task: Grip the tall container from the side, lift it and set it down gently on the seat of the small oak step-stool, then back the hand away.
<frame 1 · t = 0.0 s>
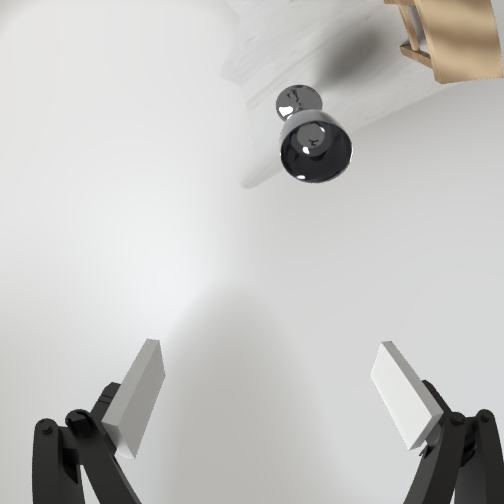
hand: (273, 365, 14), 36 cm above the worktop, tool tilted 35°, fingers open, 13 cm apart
wine glass: (299, 105, 36), on the worktop
stool: (420, 22, 21), on the worktop
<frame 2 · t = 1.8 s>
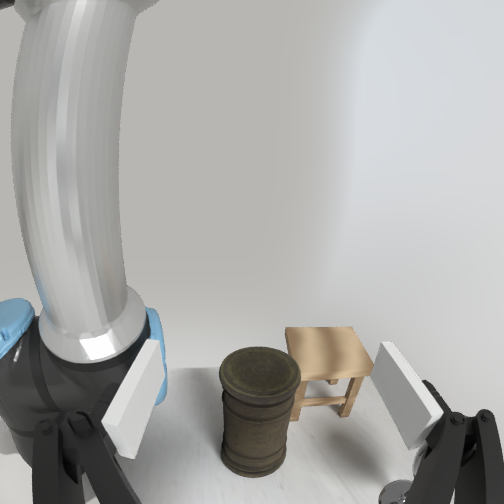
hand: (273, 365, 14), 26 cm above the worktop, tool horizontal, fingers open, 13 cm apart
container: (252, 455, 31), on the worktop
wine glass: (401, 499, 19), on the worktop
stool: (314, 399, 42), on the worktop
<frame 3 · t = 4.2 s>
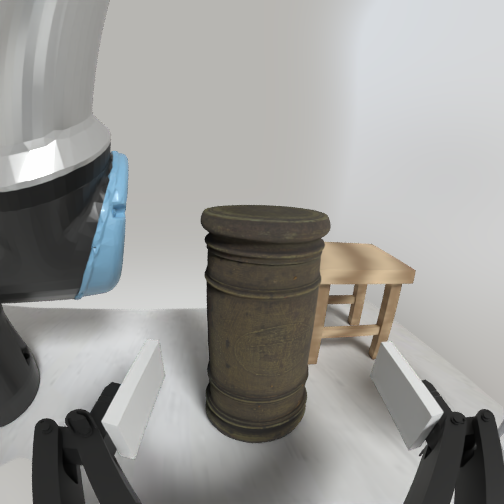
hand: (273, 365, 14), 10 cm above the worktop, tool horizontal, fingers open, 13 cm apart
container: (254, 409, 22), on the worktop
stool: (334, 339, 34), on the worktop
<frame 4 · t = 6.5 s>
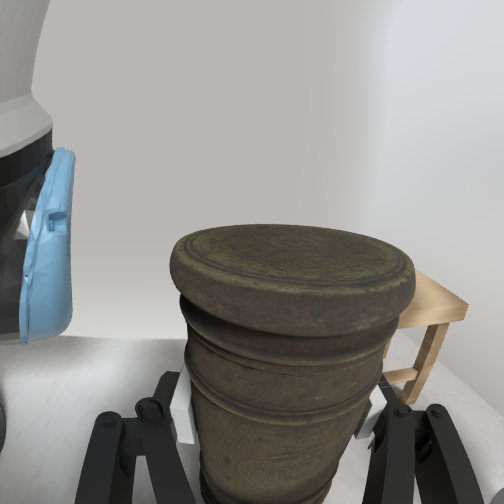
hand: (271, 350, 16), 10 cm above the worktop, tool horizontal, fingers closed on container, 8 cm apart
container: (263, 486, 14), on the worktop, touching gripper
stool: (358, 381, 26), on the worktop
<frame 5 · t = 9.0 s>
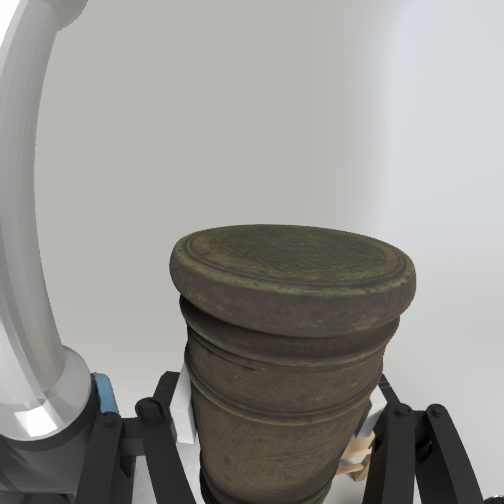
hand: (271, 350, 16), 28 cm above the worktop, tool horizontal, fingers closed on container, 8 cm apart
container: (263, 487, 14), point 18 cm above the worktop, touching gripper
stool: (325, 460, 30), on the worktop
when the fingers open (23 cm above the worktop, at t = 11.6 s): container drops 1 cm, resting on stool.
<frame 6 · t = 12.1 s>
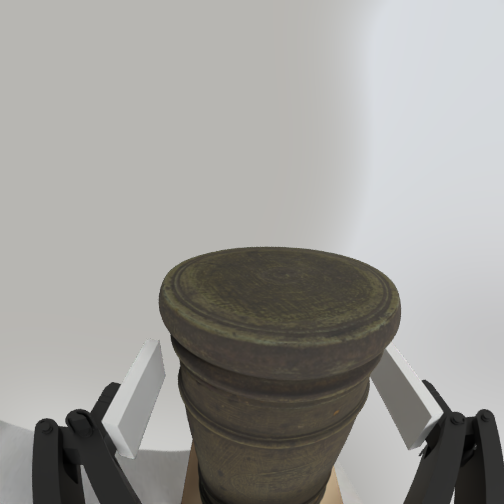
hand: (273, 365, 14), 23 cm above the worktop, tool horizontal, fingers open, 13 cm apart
container: (260, 492, 14), point 12 cm above the worktop, touching stool
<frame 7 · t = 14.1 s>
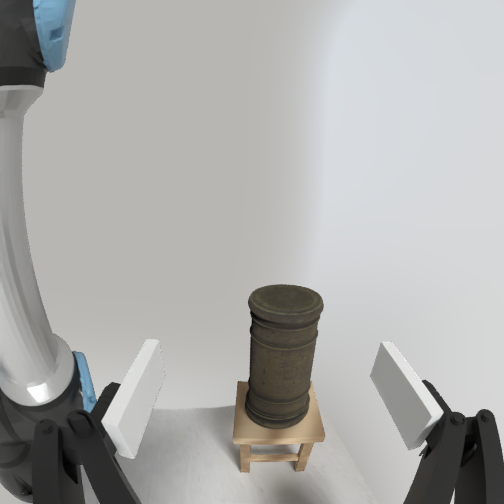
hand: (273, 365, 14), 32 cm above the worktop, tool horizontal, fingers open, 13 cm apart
container: (276, 409, 34), point 12 cm above the worktop, touching stool
stool: (271, 449, 37), on the worktop
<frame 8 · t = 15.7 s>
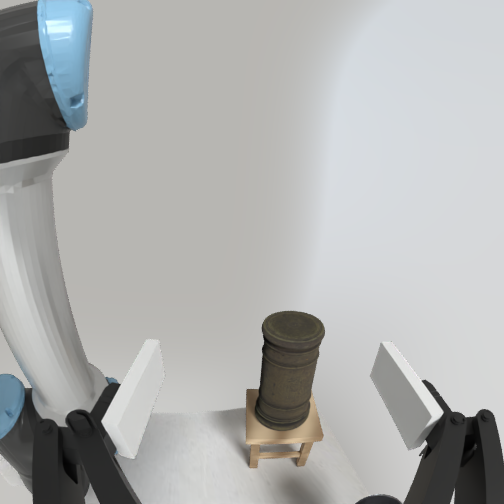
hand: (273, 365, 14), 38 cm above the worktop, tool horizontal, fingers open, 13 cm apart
container: (281, 413, 39), point 12 cm above the worktop, touching stool
stool: (275, 447, 43), on the worktop
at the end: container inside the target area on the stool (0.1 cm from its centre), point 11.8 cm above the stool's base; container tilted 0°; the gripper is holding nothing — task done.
